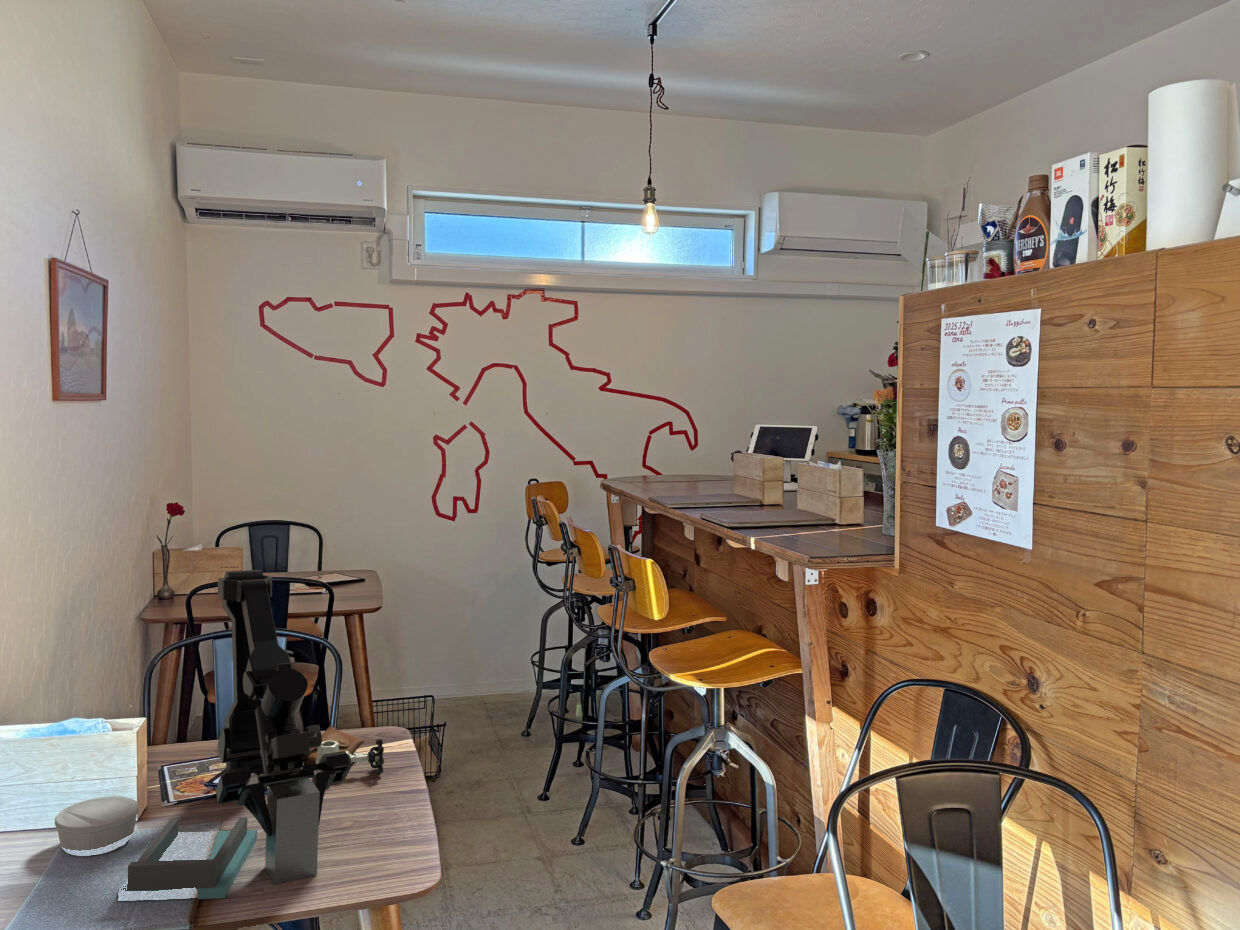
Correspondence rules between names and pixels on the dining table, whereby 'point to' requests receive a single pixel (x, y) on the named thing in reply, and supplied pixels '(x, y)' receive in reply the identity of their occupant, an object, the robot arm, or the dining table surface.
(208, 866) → the dock plate
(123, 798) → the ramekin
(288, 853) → the lock block
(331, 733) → the sunglasses case
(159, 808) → the dining table surface
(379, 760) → the valve
